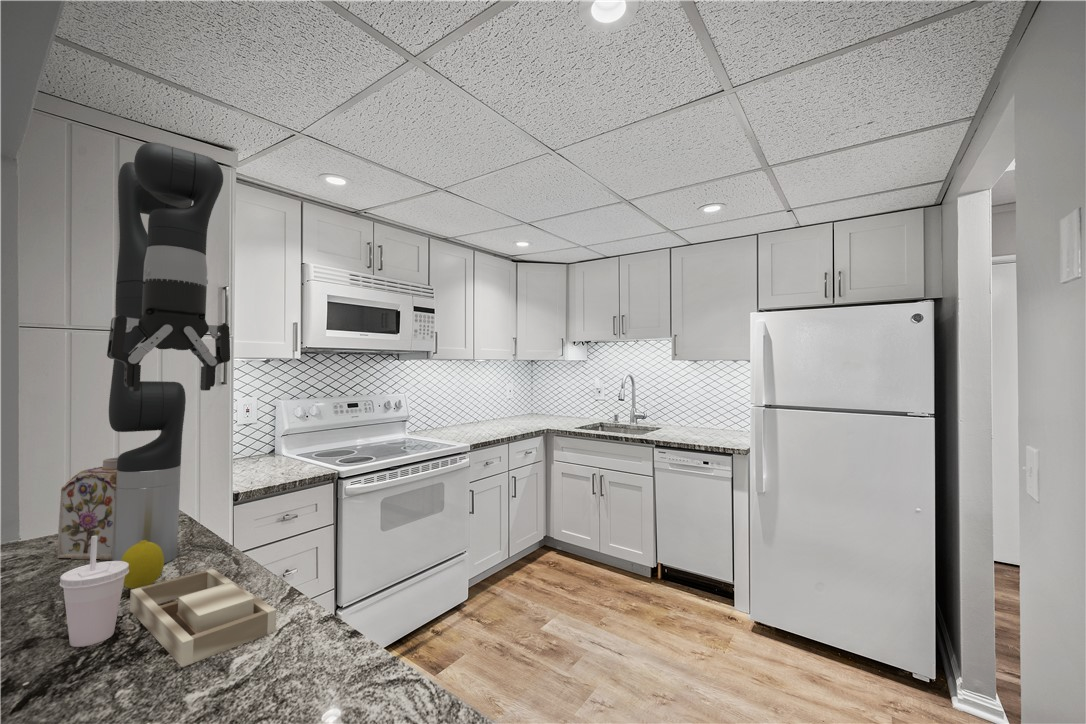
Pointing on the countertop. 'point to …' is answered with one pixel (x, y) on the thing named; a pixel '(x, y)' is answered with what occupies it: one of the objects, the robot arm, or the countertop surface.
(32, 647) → the countertop surface
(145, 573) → the lemon
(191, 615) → the offcut top
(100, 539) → the decorative jar
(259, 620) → the offcut rack
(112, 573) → the smoothie
